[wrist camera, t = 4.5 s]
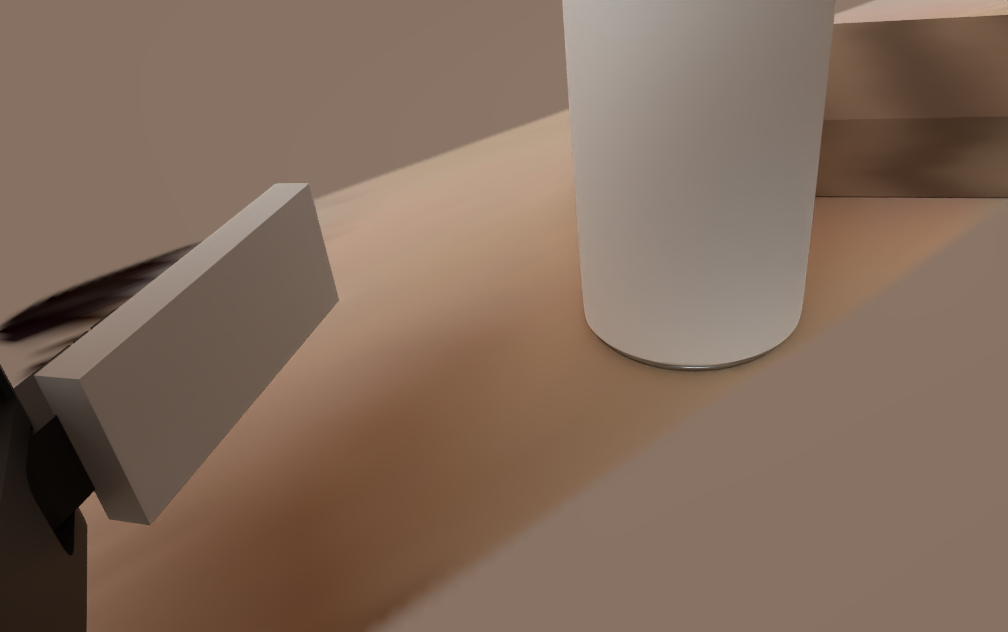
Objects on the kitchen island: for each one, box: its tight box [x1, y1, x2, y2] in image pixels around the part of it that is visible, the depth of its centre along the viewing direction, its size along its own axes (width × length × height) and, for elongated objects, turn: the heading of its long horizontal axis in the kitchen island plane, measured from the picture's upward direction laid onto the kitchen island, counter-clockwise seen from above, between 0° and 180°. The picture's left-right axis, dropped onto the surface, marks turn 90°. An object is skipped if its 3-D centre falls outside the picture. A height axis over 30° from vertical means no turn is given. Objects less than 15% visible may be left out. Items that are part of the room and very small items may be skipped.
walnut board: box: [815, 15, 1008, 197], centre depth 34 cm, size 15×15×3 cm
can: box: [563, 0, 836, 371], centre depth 21 cm, size 6×6×12 cm
